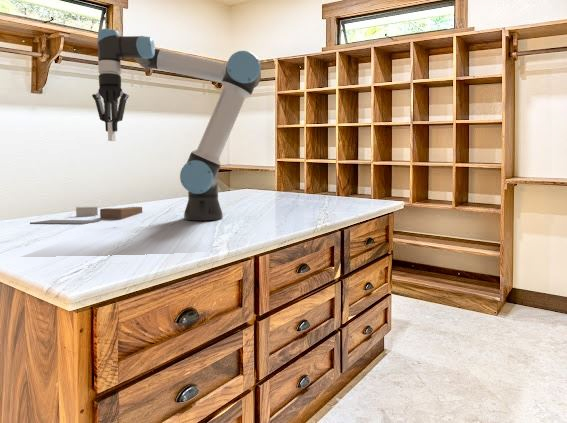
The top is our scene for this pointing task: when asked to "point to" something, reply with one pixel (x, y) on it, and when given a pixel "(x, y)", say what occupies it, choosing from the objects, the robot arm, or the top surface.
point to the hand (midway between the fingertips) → (111, 140)
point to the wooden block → (119, 212)
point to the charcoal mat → (65, 222)
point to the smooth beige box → (86, 211)
